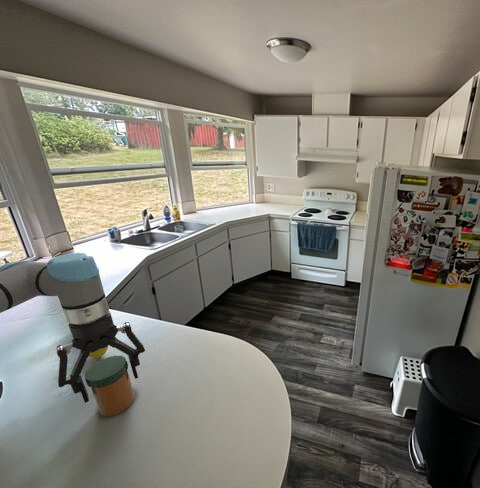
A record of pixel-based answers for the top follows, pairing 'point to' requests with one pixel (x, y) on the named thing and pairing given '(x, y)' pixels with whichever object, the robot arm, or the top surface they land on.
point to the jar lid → (106, 371)
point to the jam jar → (114, 396)
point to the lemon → (98, 353)
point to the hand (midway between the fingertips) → (112, 386)
